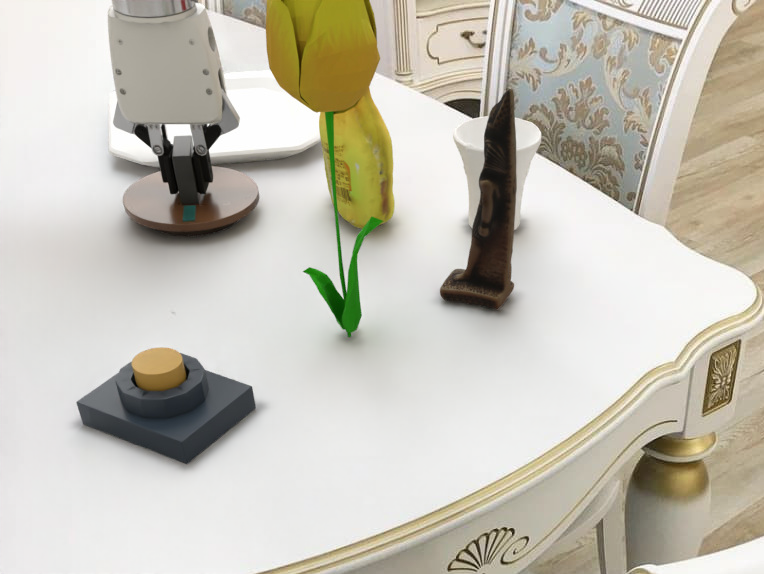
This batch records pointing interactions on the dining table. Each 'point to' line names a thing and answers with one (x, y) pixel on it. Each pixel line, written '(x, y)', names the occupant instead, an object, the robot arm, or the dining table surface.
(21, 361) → the dining table surface
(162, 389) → the bell button
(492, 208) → the statue
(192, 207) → the turntable
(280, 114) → the plate
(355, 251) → the flower
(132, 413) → the grey button base
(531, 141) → the cup
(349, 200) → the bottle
